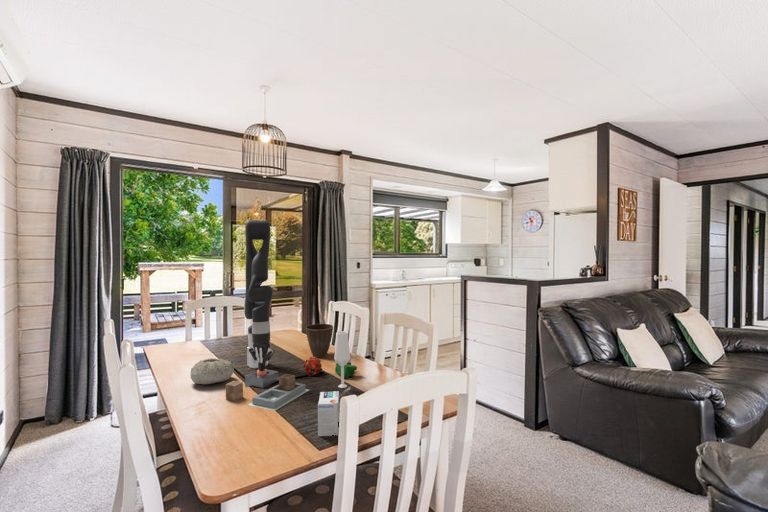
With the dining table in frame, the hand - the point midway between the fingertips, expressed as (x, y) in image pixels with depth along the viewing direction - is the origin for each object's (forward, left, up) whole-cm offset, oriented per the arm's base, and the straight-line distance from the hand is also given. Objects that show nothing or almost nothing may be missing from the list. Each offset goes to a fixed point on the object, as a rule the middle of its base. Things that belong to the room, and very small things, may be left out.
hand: (262, 370), depth 173 cm
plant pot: (-1, +47, -7) cm, 48 cm away
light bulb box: (+49, -23, -7) cm, 54 cm away
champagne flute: (+35, +10, -7) cm, 37 cm away
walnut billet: (+2, -18, -6) cm, 19 cm away
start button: (0, 0, -4) cm, 4 cm away
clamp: (+28, +26, -7) cm, 38 cm away
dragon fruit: (+13, +20, -7) cm, 25 cm away
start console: (0, 0, -6) cm, 6 cm away
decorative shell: (-23, -6, -7) cm, 25 cm away
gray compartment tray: (+18, -10, -6) cm, 21 cm away
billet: (+18, -5, -5) cm, 19 cm away
